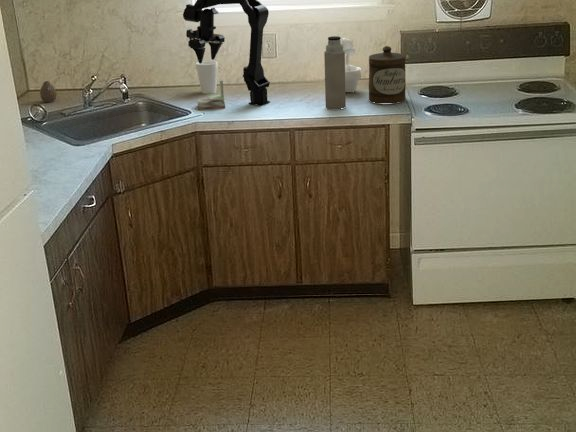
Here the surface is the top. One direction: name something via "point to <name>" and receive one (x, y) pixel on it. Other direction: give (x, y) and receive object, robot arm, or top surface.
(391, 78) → the wooden container
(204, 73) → the foam cup
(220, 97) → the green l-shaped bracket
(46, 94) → the avocado
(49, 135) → the top surface
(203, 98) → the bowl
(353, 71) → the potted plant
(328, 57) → the thermos bottle
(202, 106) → the station
